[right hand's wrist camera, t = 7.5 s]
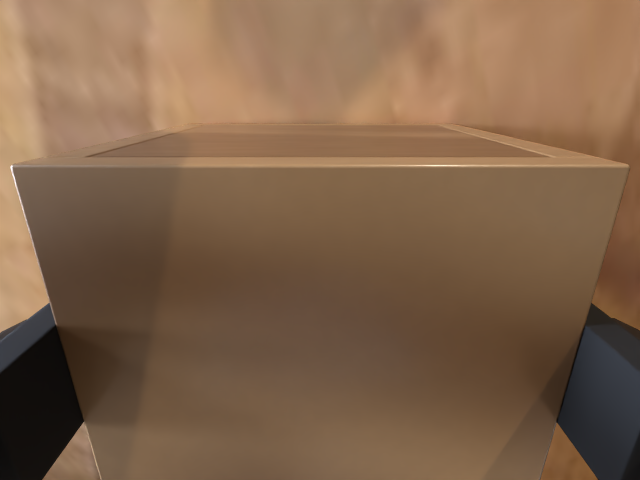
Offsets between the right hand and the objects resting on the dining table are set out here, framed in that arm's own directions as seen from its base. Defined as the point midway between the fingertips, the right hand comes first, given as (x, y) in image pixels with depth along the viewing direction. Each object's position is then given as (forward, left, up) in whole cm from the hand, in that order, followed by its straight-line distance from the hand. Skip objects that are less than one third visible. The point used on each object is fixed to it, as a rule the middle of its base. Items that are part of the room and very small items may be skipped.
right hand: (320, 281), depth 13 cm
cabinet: (+2, -5, -5) cm, 8 cm away
